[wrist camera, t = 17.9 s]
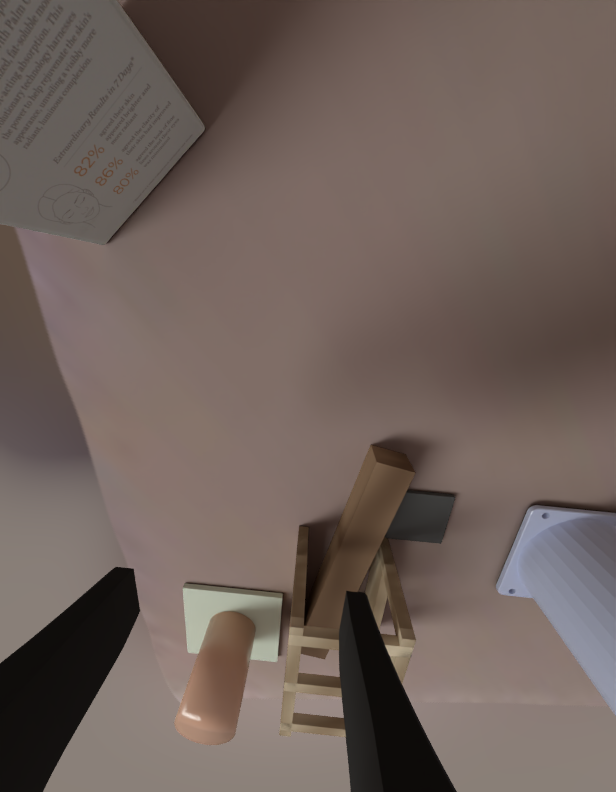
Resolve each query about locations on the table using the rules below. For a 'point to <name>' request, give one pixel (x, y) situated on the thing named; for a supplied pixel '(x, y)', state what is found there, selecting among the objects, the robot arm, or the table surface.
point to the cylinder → (217, 680)
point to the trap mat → (421, 517)
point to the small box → (83, 118)
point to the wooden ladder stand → (398, 646)
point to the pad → (251, 603)
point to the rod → (357, 537)
